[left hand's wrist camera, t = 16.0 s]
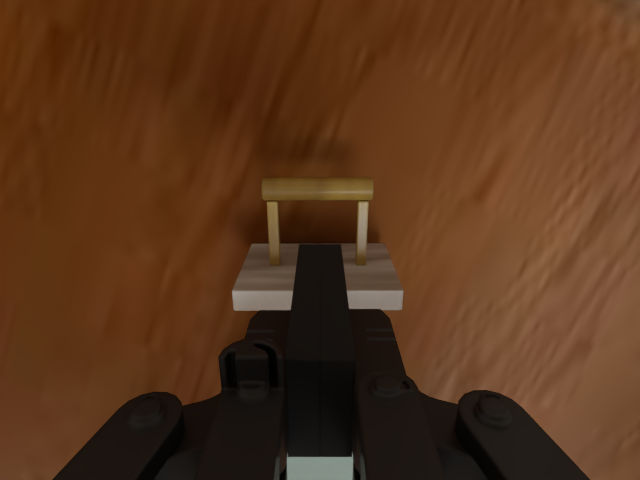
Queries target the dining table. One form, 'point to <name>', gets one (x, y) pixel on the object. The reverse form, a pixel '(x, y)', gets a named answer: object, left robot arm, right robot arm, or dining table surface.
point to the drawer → (280, 259)
